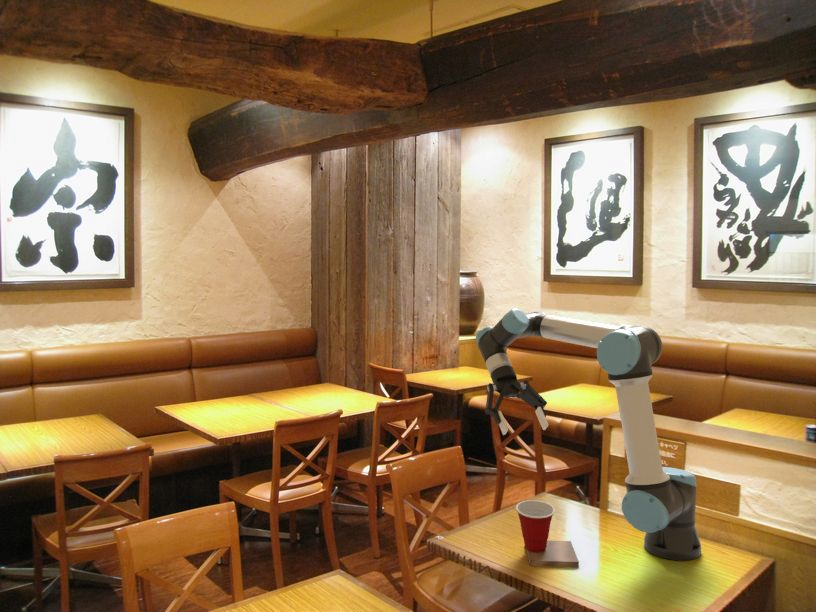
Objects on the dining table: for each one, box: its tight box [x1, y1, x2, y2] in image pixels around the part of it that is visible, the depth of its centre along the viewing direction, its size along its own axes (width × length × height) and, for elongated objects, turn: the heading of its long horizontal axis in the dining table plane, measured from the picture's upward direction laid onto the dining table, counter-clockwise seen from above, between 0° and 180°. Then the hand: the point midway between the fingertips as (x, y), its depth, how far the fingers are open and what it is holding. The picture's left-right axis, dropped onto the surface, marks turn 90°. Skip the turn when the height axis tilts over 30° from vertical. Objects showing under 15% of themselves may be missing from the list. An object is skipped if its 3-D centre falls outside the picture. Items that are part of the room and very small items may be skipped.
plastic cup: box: [515, 499, 556, 552], centre depth 189 cm, size 11×11×12 cm
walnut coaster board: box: [525, 540, 580, 568], centre depth 189 cm, size 13×13×2 cm
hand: (526, 430), depth 198 cm, fingers open, 13 cm apart
